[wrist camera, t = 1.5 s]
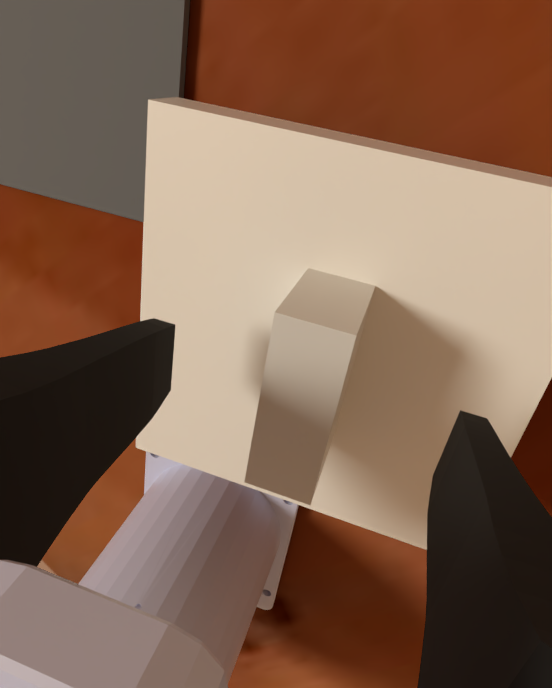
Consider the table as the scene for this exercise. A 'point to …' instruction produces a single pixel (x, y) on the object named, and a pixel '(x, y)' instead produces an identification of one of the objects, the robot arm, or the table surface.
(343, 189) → the lid
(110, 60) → the mat
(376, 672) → the table surface
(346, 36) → the table surface
